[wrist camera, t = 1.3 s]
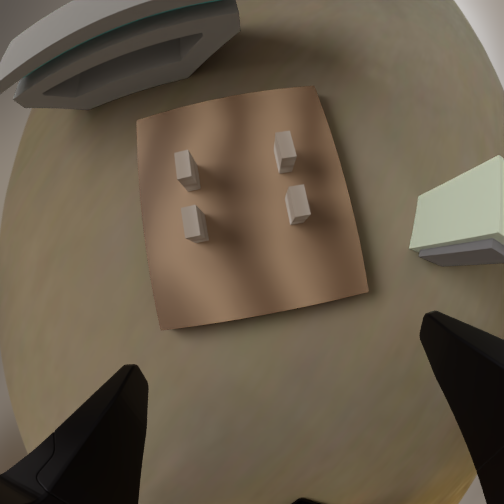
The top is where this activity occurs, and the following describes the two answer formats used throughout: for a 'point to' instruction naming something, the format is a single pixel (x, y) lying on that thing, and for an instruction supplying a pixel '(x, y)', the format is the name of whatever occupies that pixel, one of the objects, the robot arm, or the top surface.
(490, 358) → the robot arm
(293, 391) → the top surface
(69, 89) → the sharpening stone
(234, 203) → the tan board with pegs
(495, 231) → the pale panelled upright block
